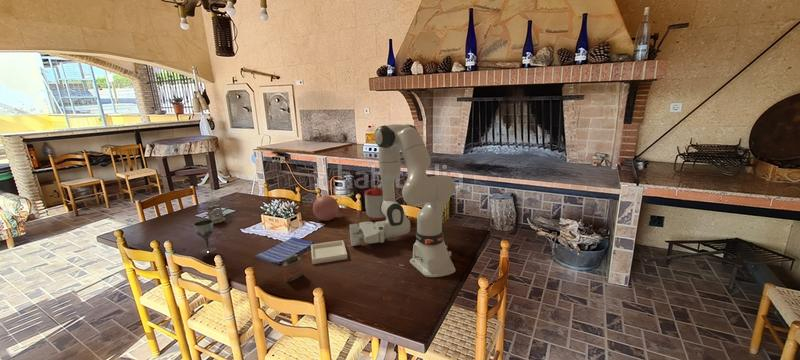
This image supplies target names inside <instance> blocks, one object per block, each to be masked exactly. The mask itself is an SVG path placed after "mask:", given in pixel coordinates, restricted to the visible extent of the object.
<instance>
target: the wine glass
mask: <svg viewBox="0 0 800 360" xmlns="http://www.w3.org/2000/svg"><path fill="white" fill-rule="evenodd" d="M193 226H194V230H195V233H196V234H197V236H198V237H200V238H202V239H203V240H204V242H205V244H206V247H205V248H203V249H201V250H200V254H202V255H203V254H204V255H205V254H211V253H213V252H215V251H216V250H217V247H215V246H210V245H209V239H210V237H211V235H212V234H213V233H214V223H213V221H212V220H209V219H202V220H198V221H196V222H194V225H193Z"/></svg>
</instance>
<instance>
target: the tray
mask: <svg viewBox="0 0 800 360" xmlns="http://www.w3.org/2000/svg"><path fill="white" fill-rule="evenodd" d="M310 249H311V250H310V251H311V264H312V265H316V264H317V265H318V264H323V263H329V262H335V261H343V260H348V252H347V248H346V245H345V242H344V240H343V239H342V240H335V241H334V240H333V241H328V242H320V243H319V242H318V243H314V244H312V245H311V248H310Z"/></svg>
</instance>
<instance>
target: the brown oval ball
mask: <svg viewBox="0 0 800 360" xmlns="http://www.w3.org/2000/svg"><path fill="white" fill-rule="evenodd" d="M339 208H340V207H339V203H338V198H334V197H333V196H330V195H322V196H319V197H318V198H316V199H315V201H313V204H312V211H313V215H314V216H315V218H317V220H320V221H324V222H326V221H332V220H333V219H334V218H336V216H337V215H338V213H339V210H340V209H339Z"/></svg>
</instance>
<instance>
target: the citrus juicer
mask: <svg viewBox="0 0 800 360" xmlns="http://www.w3.org/2000/svg"><path fill="white" fill-rule="evenodd" d="M363 193H364V201H365V202H364V204H365V207H364V208H365V212H366V215H367V217H368V219H369V220H370V221H373V222H379V221H385V220H386V217H385V216H383V215H382V214H381V212H380V205H381V202H382V187H381V188H380V187H378V186H375V188H370V189H369V188H368V189H367V190H365V191H364V192H363Z"/></svg>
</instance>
